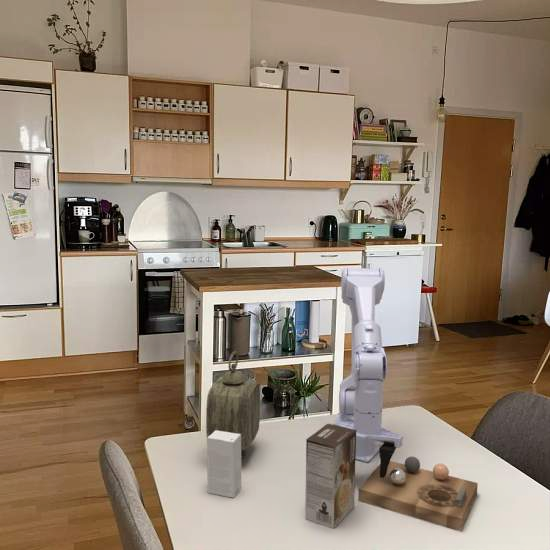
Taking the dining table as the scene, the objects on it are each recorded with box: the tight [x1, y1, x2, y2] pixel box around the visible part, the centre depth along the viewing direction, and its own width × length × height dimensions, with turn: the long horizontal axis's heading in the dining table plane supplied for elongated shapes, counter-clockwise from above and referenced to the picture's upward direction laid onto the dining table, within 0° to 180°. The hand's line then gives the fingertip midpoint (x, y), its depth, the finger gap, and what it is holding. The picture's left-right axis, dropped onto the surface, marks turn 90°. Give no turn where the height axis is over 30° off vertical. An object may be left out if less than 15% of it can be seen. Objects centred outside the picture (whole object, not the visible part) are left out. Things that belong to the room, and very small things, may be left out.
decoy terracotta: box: [432, 463, 450, 480], centre depth 116 cm, size 3×3×3 cm
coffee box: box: [304, 423, 357, 529], centre depth 107 cm, size 9×6×16 cm
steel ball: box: [390, 468, 406, 485], centre depth 114 cm, size 3×3×3 cm
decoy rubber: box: [404, 456, 421, 472], centre depth 119 cm, size 3×3×3 cm
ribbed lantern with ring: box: [205, 350, 261, 458], centre depth 129 cm, size 14×9×25 cm, turn 168°
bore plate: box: [357, 460, 479, 532], centre depth 114 cm, size 20×15×4 cm
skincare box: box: [206, 430, 242, 498], centre depth 115 cm, size 6×4×12 cm
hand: (365, 471), depth 118 cm, fingers open, 7 cm apart
